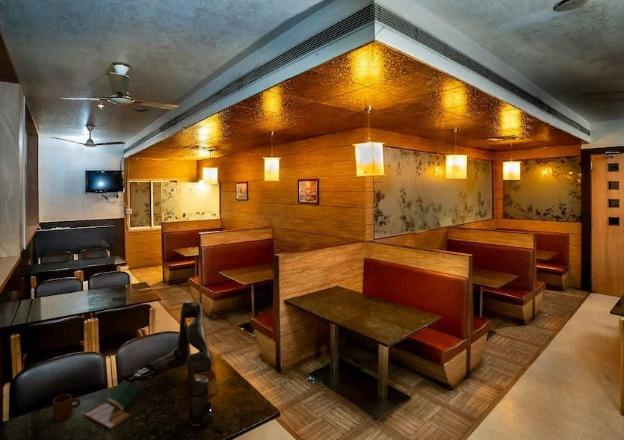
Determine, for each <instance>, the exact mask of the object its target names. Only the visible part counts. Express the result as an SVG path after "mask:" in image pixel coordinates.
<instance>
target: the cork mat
mask: <svg viewBox="0 0 624 440" xmlns="http://www.w3.org/2000/svg"><path fill="white" fill-rule="evenodd" d="M84 416H85V417H86V418H89V419H90V420H92V421H94V422H96V423H97V424H100V425H101V426H103V427H105V428H107V429H108V430H112V429H114V428H116V427H118V426H119V425H120V424H121V423H123V422H125V421H126V420H129V419H130V418H131V417H132V415H131V414H129V413H127V412H125V411H124V410H123V411H121V410H119V409H117V408H115V407H114V406H112V405H111V404H110V403H107V402H104V403H103V404H100V405H99V406H97V407H95V408H94V409H92V410H89V411H88V412H86V413H85V414H84Z"/></svg>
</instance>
